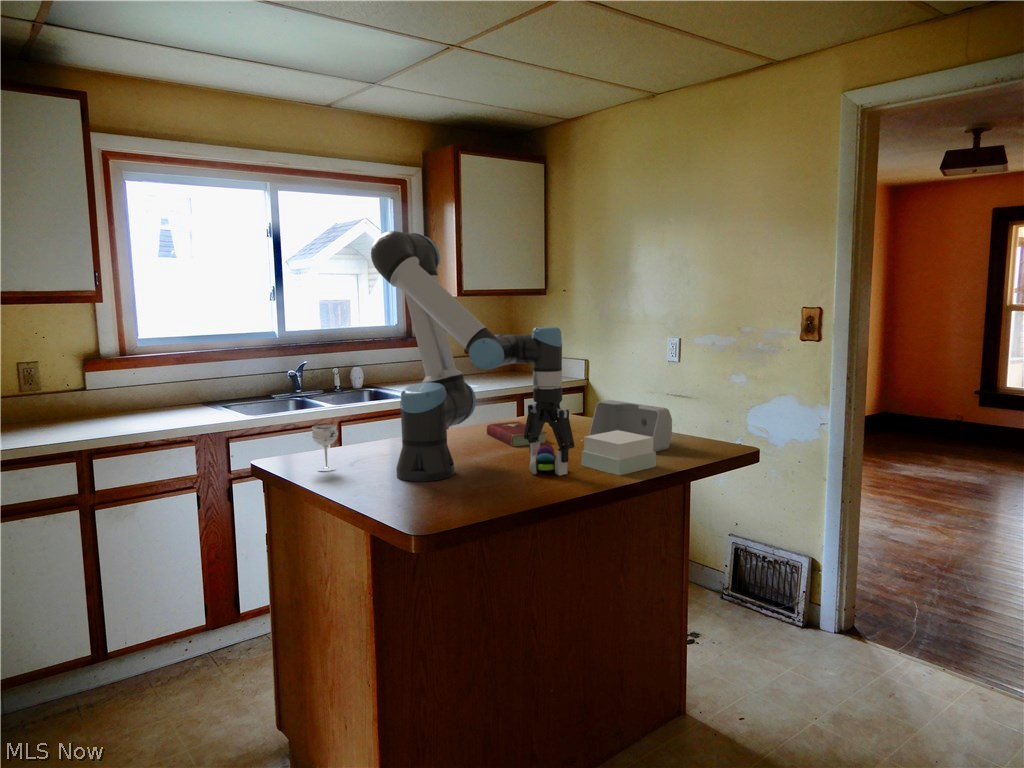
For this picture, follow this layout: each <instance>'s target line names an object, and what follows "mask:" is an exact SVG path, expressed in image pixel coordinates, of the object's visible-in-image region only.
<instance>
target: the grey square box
mask: <svg viewBox="0 0 1024 768" xmlns="http://www.w3.org/2000/svg"><path fill="white" fill-rule="evenodd" d="M656 455H657V452H654V451H653V437H649V436H644V435H639V434H634V433H629V432H624V431H619V430H616V431H611V432H606V433H600V434H595V435H590V436H589V435H586V436H584V437H583V450H581V466H582V467H586V468H590V469H594V470H597V471H602V472H603V473H609V474H612V475H616V476H624V475H627V474H631V473H635V472H639V471H642V470H648V469H651V468H652V469H653V468H655V467H656V466H657V462H656V461H657V456H656Z"/></svg>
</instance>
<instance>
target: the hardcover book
mask: <svg viewBox="0 0 1024 768" xmlns="http://www.w3.org/2000/svg"><path fill="white" fill-rule="evenodd" d="M525 427H526V423H525V422H522V421H519V420H518V421H517V420H516V421H508V422H506V421H505V422H497V423H488V424H486V435H488V436H489V437H492V438H493V439H496V440H498V441H500V442H502V443H503V444H506V445H507V446H509V447H510V446H511V447H512V448H513V447H520V446H529V442H528V440H527V439H524V432H525ZM529 434H530V433H529ZM546 434H547V431H545V430H543V429H542V431H541V433H540V436H539V438H538V439H539V441H536V442H540V444H546Z"/></svg>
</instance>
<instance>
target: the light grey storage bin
mask: <svg viewBox="0 0 1024 768" xmlns="http://www.w3.org/2000/svg"><path fill="white" fill-rule="evenodd" d="M616 430H619V431H624V432H629V433H634V434H639V435H644V436H649V437H653V451H654V452H656V453H658V452H662V451H666V450H669V448H670V445H671V444H670V443H671V441H672V437H673V417H672V415H671V413H670V410H669V409H668V408H666V407H661V406H654V405H649V404H648V405H647V404H639V403H633V402H626V401H619V400H614V399H608V400H603V401H598V402H597V403H596V405H595V408H594V413H593V417H592V421H591V425H590V429H589V431H588V432H589V433H588V436H590V435H595V434H600V433H606V432H611V431H616Z"/></svg>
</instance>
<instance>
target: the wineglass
mask: <svg viewBox="0 0 1024 768" xmlns="http://www.w3.org/2000/svg"><path fill="white" fill-rule="evenodd" d="M337 427H338V424H333V423H330V424H329V423H327V424H326V423H325V424H324V423H323V424H318V425H316V424H315V425H313V426H311V429H312V433H311V437H312V439H313V441H314V442H315V443H316V444H317V445H320V446H322V447H323V450H324V458H325V459H324V460H325V466H324V467H323V468H329V467H330V466H328V448H329V445H331V444H334V442H335V441H336V440H337V439H338V435H339V432H338V429H337Z"/></svg>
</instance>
